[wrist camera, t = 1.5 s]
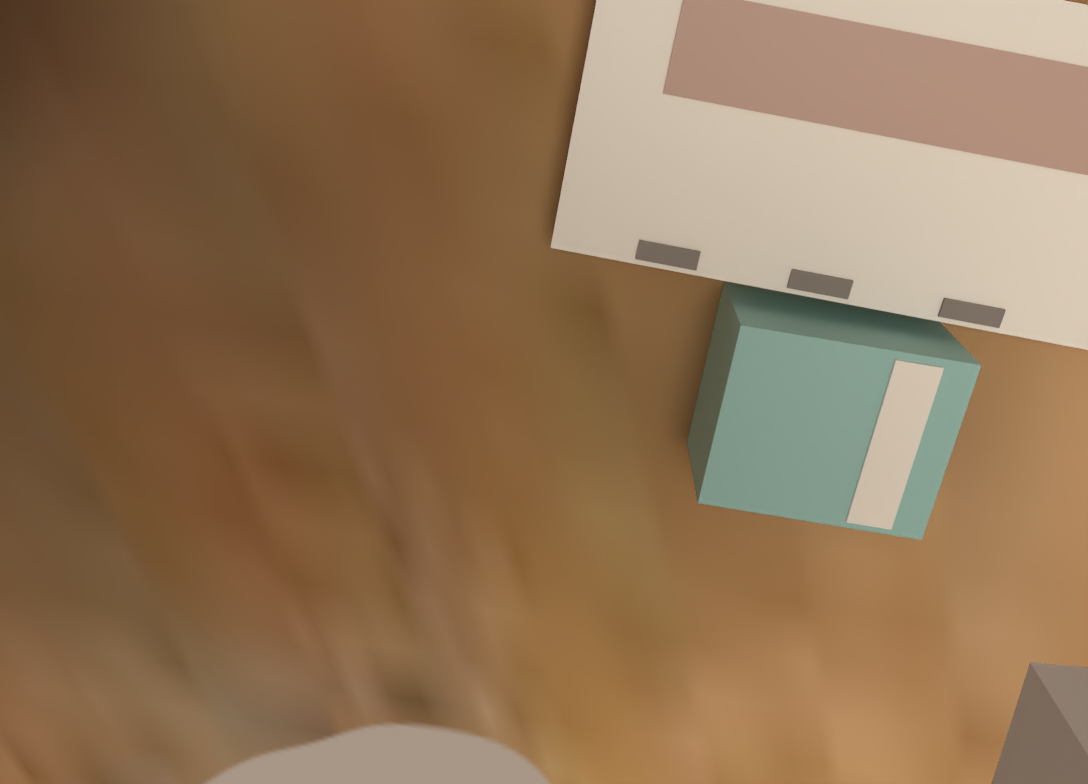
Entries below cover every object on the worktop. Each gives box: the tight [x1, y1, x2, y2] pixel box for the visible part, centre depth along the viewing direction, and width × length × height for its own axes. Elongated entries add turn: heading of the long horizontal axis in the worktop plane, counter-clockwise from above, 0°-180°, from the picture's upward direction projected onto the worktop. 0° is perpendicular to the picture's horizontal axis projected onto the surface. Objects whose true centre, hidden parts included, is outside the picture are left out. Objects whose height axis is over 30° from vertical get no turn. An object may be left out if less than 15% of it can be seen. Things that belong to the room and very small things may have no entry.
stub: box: [687, 282, 981, 540], centre depth 28 cm, size 6×5×4 cm
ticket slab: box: [551, 0, 1088, 350], centre depth 26 cm, size 22×8×2 cm, turn 80°
